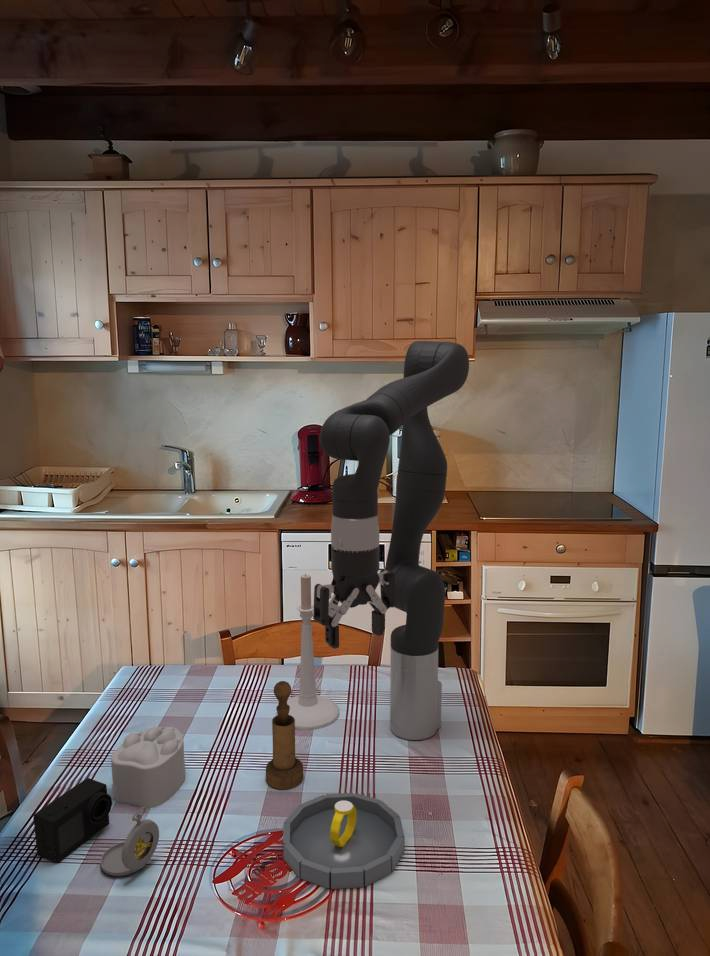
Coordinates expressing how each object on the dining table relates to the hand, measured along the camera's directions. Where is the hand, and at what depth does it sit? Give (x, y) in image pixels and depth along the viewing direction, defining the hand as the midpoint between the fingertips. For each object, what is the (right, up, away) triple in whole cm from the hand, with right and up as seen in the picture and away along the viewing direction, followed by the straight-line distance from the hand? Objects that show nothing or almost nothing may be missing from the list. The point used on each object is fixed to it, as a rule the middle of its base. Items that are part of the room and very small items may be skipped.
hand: (355, 640), depth 115 cm
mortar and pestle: (-12, -27, +11) cm, 32 cm away
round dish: (-2, -30, -6) cm, 30 cm away
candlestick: (-10, -23, +33) cm, 41 cm away
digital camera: (-43, -30, -4) cm, 52 cm away
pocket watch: (-33, -31, -10) cm, 46 cm away
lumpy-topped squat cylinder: (-35, -27, +10) cm, 46 cm away
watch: (-2, -29, -6) cm, 30 cm away
